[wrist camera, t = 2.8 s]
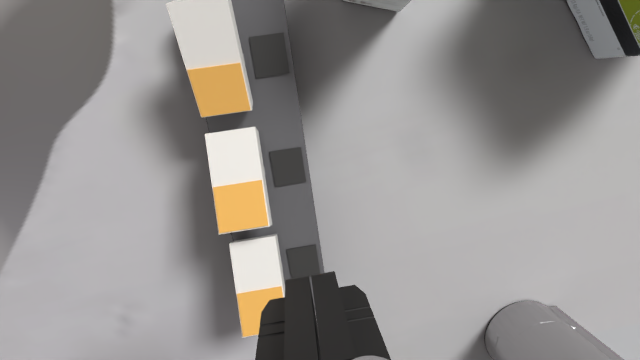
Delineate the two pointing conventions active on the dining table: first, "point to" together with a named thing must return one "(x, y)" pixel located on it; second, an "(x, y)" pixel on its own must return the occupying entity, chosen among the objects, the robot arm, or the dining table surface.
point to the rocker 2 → (238, 180)
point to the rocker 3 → (256, 278)
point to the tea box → (609, 26)
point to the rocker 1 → (212, 55)
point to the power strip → (276, 135)
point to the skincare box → (383, 3)
